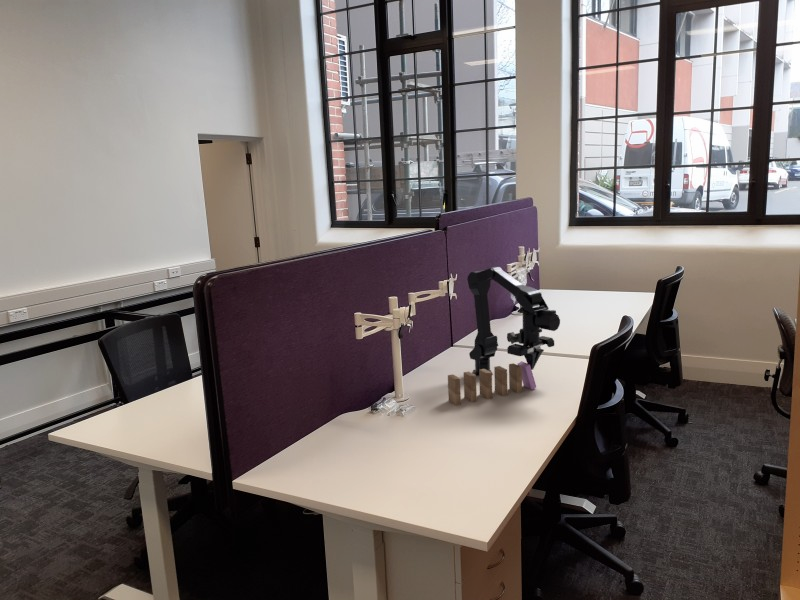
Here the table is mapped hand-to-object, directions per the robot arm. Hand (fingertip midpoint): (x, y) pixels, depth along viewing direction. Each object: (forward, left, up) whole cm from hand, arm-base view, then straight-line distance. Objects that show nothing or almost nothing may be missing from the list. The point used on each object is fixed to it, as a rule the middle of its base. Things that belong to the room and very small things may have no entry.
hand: (531, 369), depth 215 cm
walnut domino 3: (+6, -17, -6) cm, 20 cm away
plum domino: (0, 0, -6) cm, 6 cm away
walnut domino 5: (+2, -6, -6) cm, 9 cm away
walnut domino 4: (+4, -12, -6) cm, 14 cm away
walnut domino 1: (+10, -29, -6) cm, 31 cm away
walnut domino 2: (+8, -23, -6) cm, 25 cm away
